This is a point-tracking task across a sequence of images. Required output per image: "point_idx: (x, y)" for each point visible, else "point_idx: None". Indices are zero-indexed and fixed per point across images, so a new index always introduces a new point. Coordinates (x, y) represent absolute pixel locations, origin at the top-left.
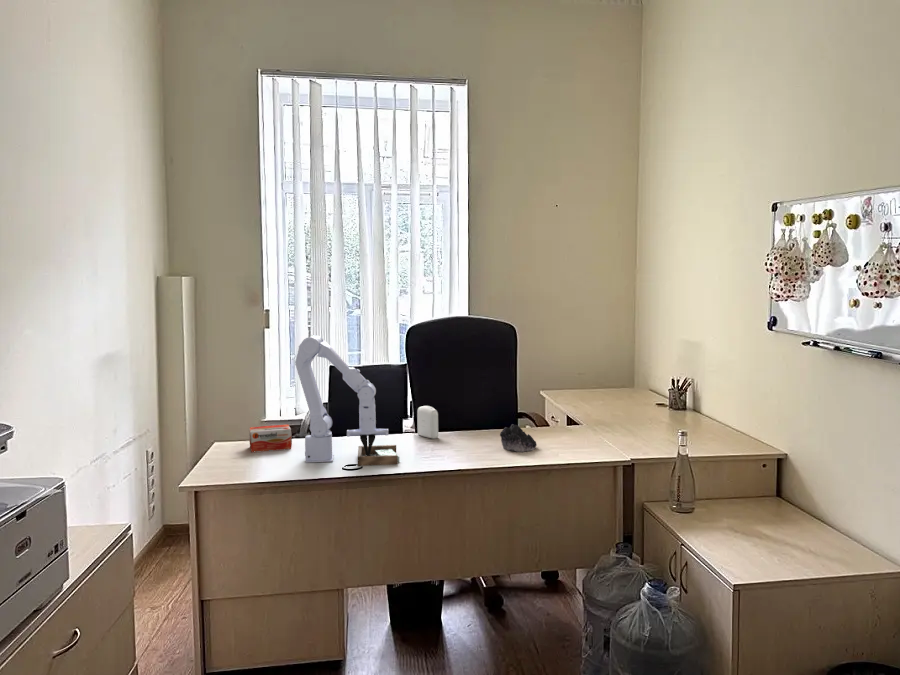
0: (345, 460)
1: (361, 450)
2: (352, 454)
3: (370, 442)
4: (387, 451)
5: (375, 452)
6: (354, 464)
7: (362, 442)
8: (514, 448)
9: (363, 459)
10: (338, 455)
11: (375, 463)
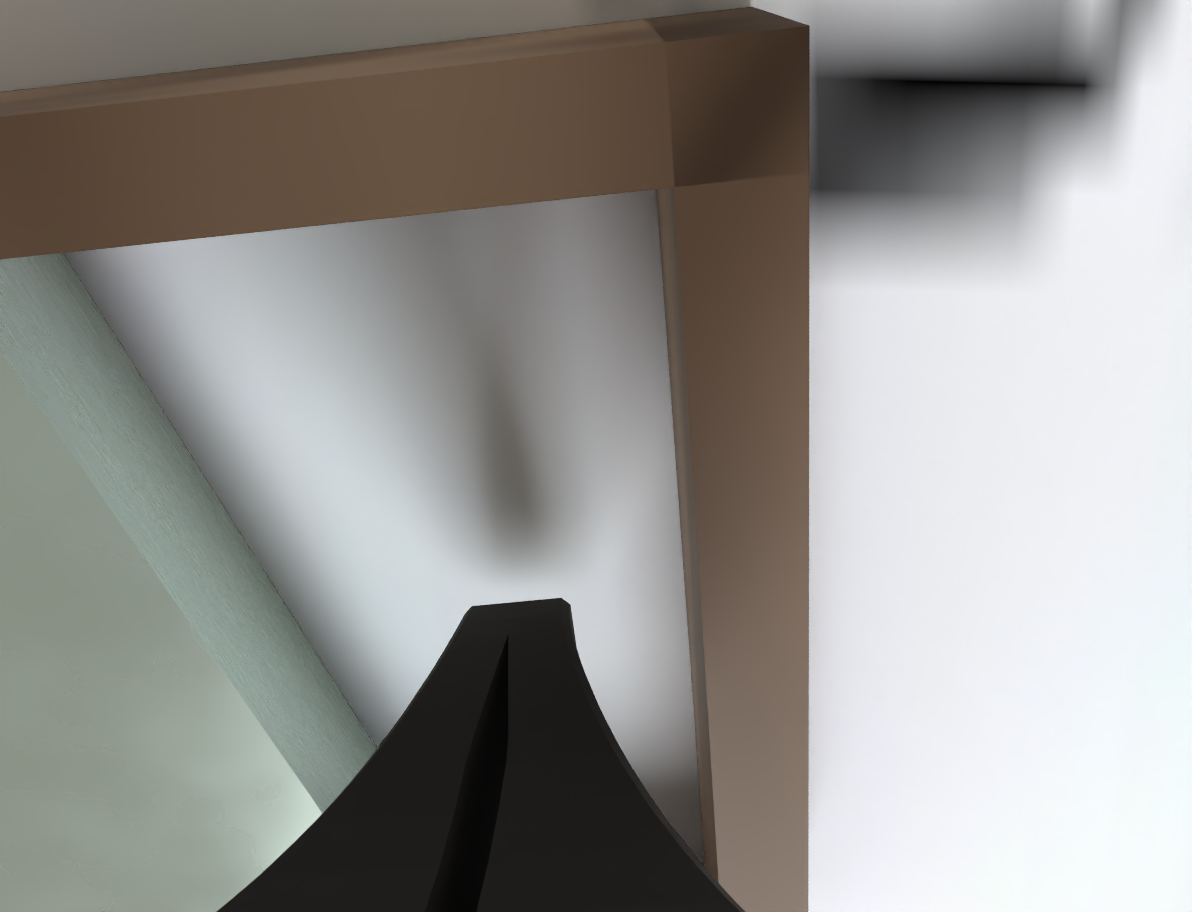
0: (1070, 535)
1: (714, 799)
2: (894, 904)
3: (335, 894)
4: (70, 857)
5: None
6: (851, 169)
7: (693, 875)
8: None
9: (569, 45)
10: (1176, 854)
11: (195, 76)
